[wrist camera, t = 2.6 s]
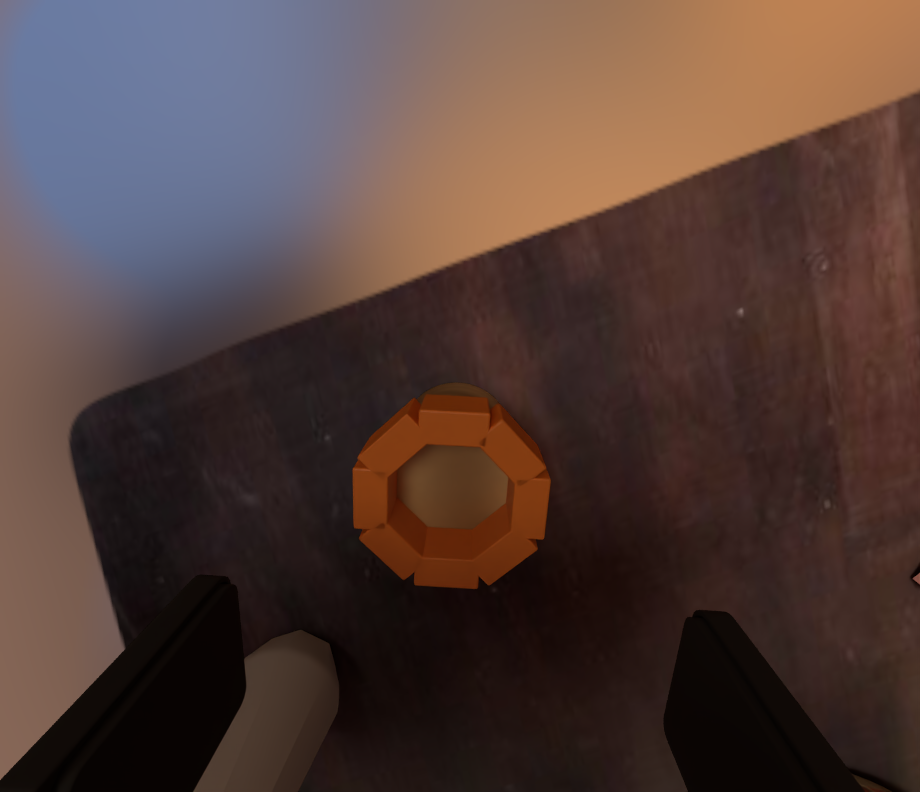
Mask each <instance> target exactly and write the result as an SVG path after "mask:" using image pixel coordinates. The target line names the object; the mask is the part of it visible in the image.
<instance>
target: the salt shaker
mask: <svg viewBox="0 0 920 792" xmlns="http://www.w3.org/2000/svg"><path fill="white" fill-rule="evenodd" d="M244 664H245V674H246V693H245V697H244V700H243V703H242V705H241V707H240V709H239V710H238V712H237V714H236V716H235V718H234V719H233V721H232V723H231V725H230V727H229V728H228V730H227V732H226V734H225V736H224V737H223V739H222V741H221V743H220V745H219V746H218V748H217V750H216V752H215V754H214V755H213V757H212V759H211V761H210V763H209V764H208V766H207V768H206V770H205V772H204V773H203V775H202V777H201V779H200V781H199V782H198V784H197V786H196V788H195V790H194V791H193V792H298V790H299V788H300V786H301V784H302V782H303V780H304V778H305V776H306V774H307V772H308V770H309V768H310V766H311V764H312V762H313V760H314V758H315V756H316V754H317V752H318V750H319V748H320V746H321V744H322V742H323V740H324V738H325V736H326V734H327V732H328V730H329V728H330V726H331V724H332V722H333V720H334V718H335V716H336V714H337V711H338V705H339V682H338V678H337V673H336V667H335V663H334V659H333V655H332V652H331V648H330V644H329V643H327V642H325V641H323V640H321V639H319V638H317V637H315V636H313V635H311V634H309V633H307V632H305V631H303V630H298V631H295V632H292V633H288V634H285V635H282V636H278V637H275V638H272V639H271V640H270V641H268V642H267V643H265V644H264V645H263V646H261V647H260V648H258V649H257V650H256V651H254V652H253V653H252V654H250V655H249V656H247V657H246V658H245V659H244Z"/></svg>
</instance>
